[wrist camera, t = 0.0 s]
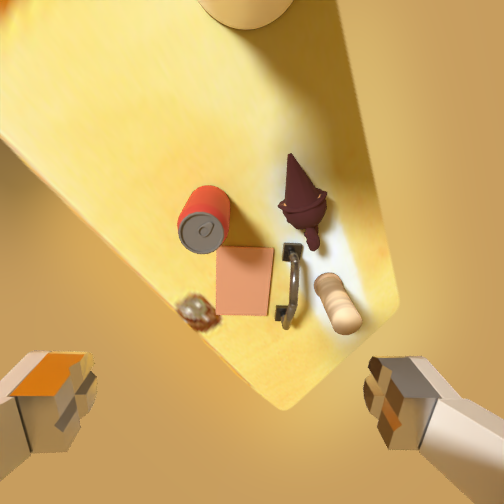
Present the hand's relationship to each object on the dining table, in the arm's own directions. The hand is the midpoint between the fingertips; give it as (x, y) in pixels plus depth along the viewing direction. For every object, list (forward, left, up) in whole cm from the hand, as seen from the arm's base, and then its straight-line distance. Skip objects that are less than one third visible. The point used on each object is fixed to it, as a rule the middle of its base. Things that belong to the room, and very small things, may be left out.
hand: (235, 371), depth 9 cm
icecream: (+5, +10, -39) cm, 41 cm away
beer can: (+7, -4, -39) cm, 40 cm away
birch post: (+21, +17, -39) cm, 47 cm away
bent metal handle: (+21, +10, -39) cm, 45 cm away
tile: (+21, +2, -39) cm, 44 cm away
